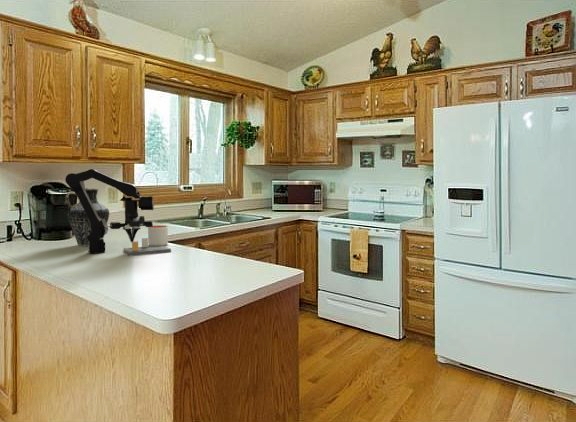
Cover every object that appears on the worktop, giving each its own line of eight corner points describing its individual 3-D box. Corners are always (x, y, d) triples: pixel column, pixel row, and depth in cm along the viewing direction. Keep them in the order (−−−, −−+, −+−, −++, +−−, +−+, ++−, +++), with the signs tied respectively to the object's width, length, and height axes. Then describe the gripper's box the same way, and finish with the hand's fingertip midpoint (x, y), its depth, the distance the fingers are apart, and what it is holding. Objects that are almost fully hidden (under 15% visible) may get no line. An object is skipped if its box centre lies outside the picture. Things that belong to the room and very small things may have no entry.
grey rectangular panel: (129, 255, 183) (129, 252, 183) (123, 251, 193) (123, 248, 193) (170, 251, 193) (170, 248, 193) (162, 247, 204) (162, 244, 204)
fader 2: (142, 247, 195) (142, 238, 195) (141, 246, 197) (141, 238, 196) (147, 246, 197) (147, 238, 196) (146, 246, 198) (146, 237, 198)
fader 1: (133, 250, 185) (132, 242, 185) (132, 250, 186) (131, 241, 186) (138, 250, 186) (138, 241, 186) (137, 249, 188) (137, 241, 187)
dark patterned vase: (98, 241, 224) (96, 187, 221) (117, 244, 212) (115, 188, 210) (59, 245, 207) (57, 188, 204) (78, 250, 196) (76, 189, 193)
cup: (162, 247, 206) (161, 228, 206) (144, 246, 208) (144, 227, 208) (171, 244, 216) (171, 225, 215) (154, 243, 218) (154, 225, 217)
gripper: (113, 212, 180) (114, 246, 181) (155, 210, 190) (156, 243, 192) (109, 210, 189) (109, 243, 190) (149, 209, 200) (149, 240, 201)
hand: (131, 242), depth 193 cm, fingers closed
